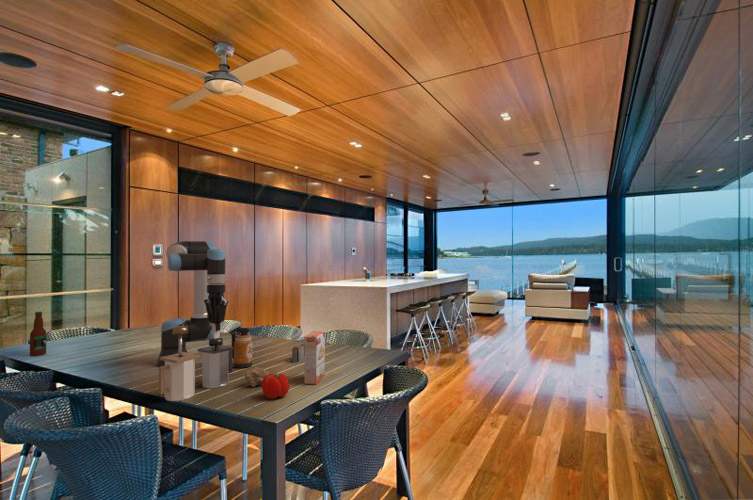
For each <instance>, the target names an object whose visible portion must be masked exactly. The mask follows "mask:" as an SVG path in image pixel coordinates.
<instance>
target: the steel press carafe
mask: <svg viewBox="0 0 753 500" xmlns="http://www.w3.org/2000/svg"><path fill="white" fill-rule="evenodd" d="M232 349H234V347H232V345H231V346H229V345H225V344H223V345H219V346H217V349H214V346H209V345H208V346H206V347H205V346H204V347H201V348H197V352H198V353H199V352H200V353H202V360H201V361H202V362H201V363H202V368H201V369H202V374H201V375H202V376H201V377H202V379H201V381H202V383H201V385H202V388H204V389H209V390H210V389H212V390H213V389H220V388H224V387H227V386H228V385H229V379H230V377H229V374H231V373H233V358H232V351H233V350H232Z"/></svg>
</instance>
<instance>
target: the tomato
mask: <svg viewBox="0 0 753 500" xmlns="http://www.w3.org/2000/svg"><path fill="white" fill-rule="evenodd" d="M261 390H262V393H263V395H264V397H267V398H269V399H272V400H274V399H276V398H283V397H284V396H286V395H287V394H288V393H289V391H290V382H289V379H288V377H287V376H286V374H285V373H283V372H282V373H279V375H278V372H275V373H269V375H267V376H265V377H264V379H263V381H262V385H261Z"/></svg>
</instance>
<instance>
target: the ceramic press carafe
mask: <svg viewBox="0 0 753 500" xmlns="http://www.w3.org/2000/svg"><path fill="white" fill-rule="evenodd" d="M199 358H201V354H197V353H191V352H187V353H186V352H182V357H179V353H178V354H173V355H169V356H164V357H160V360H162V361H165V366H161V367H160V366H158V394H159V395H164V399H165V401H167V402H178V401H179V400H181V401H186V400H188V399H191V398H193V397H194V396H195V391H196V390H195V387H196V378H195V377H196V359H199ZM185 399H186V400H185ZM179 402H180V401H179Z"/></svg>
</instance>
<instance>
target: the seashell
mask: <svg viewBox="0 0 753 500" xmlns="http://www.w3.org/2000/svg"><path fill="white" fill-rule="evenodd" d="M269 374H270V372H268V371H267V370H266V369H264V368H262V367H259V366H258V367H257V366H255V367H252V368H250V369H248V370H246V372H245V373H244V380H245V381H246V382H247V383H249V386H251V387H252V388H255V387H256V386H262V381H263V379H264V377H265V376H267V375H269Z"/></svg>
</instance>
